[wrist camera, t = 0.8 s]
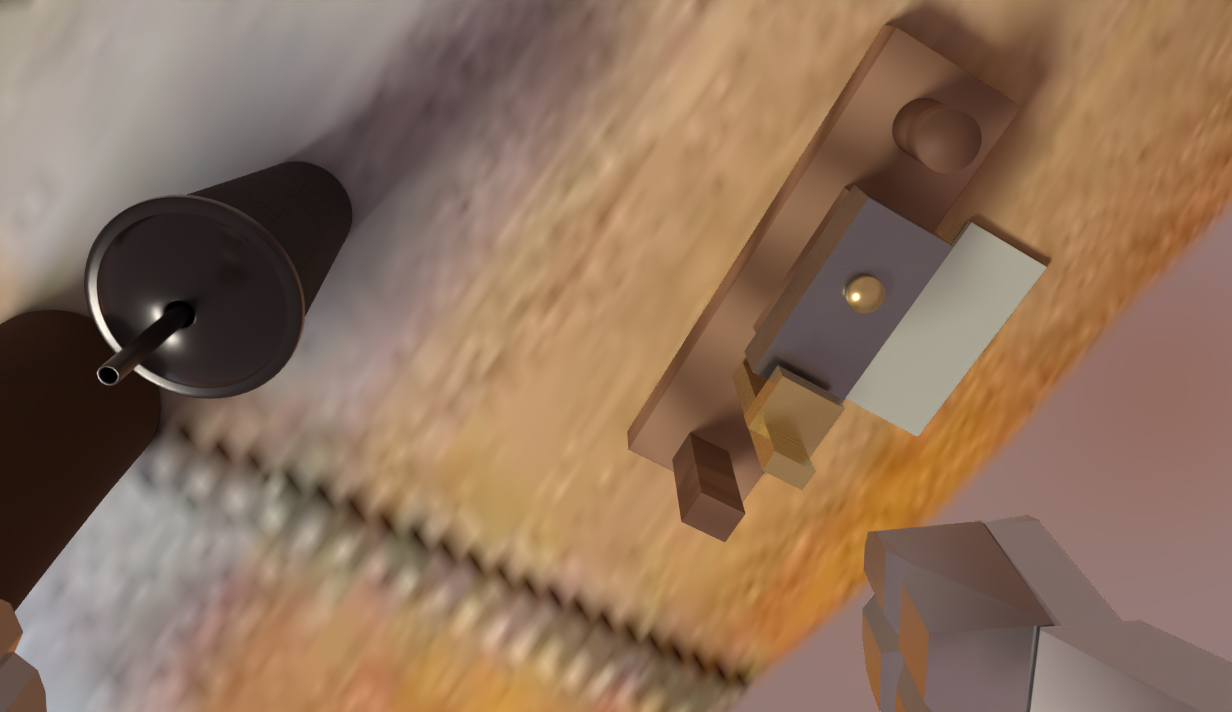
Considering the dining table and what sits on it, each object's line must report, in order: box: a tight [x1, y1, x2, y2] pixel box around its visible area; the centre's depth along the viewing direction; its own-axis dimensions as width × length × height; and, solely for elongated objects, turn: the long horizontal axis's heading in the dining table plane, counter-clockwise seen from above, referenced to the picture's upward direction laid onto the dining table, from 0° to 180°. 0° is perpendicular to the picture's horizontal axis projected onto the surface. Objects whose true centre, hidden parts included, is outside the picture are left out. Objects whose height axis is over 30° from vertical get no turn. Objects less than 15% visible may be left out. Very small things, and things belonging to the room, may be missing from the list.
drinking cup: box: [84, 162, 352, 399], centre depth 37 cm, size 8×8×20 cm
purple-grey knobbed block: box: [744, 185, 953, 403], centre depth 42 cm, size 9×4×3 cm, turn 151°
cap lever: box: [732, 362, 845, 490], centre depth 43 cm, size 3×3×9 cm
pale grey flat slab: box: [845, 220, 1047, 437], centre depth 49 cm, size 11×5×1 cm, turn 151°
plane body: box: [627, 25, 1022, 542], centre depth 44 cm, size 24×7×8 cm, turn 151°
